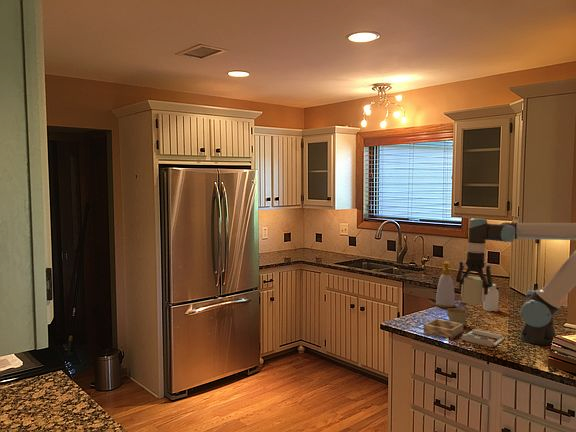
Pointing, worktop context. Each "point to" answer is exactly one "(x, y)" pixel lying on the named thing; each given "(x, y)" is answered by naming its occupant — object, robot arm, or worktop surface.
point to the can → (472, 290)
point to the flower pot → (457, 315)
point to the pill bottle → (491, 299)
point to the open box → (443, 328)
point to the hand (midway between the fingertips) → (472, 299)
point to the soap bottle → (445, 289)
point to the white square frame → (482, 338)
